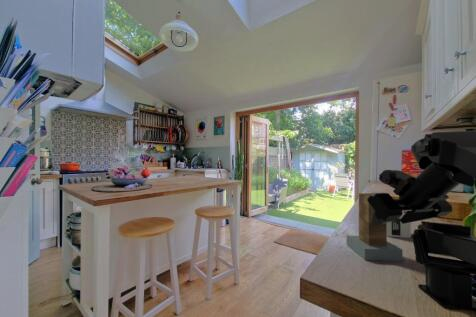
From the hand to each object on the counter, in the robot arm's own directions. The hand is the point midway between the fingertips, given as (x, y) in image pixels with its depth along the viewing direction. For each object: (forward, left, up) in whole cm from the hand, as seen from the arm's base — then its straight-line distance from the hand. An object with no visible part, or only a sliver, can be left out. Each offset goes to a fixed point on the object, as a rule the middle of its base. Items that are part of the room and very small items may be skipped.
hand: (387, 223), depth 54 cm
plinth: (+7, 0, -11) cm, 13 cm away
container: (+25, -16, -11) cm, 31 cm away
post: (+7, 0, -8) cm, 10 cm away
